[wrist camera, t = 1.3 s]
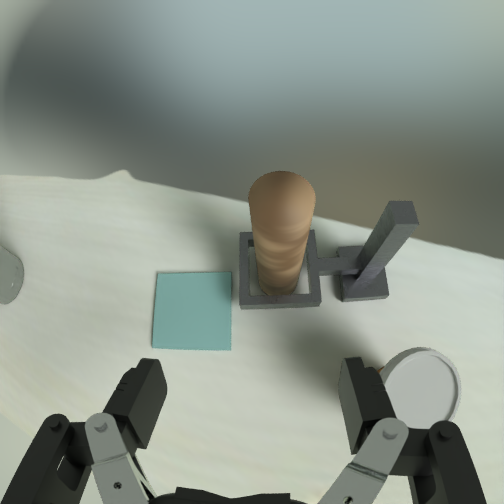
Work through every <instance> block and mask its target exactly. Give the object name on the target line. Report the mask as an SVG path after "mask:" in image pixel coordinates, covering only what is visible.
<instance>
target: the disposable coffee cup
mask: <svg viewBox="0 0 504 504" xmlns="http://www.w3.org/2000/svg"><path fill="white" fill-rule="evenodd" d="M377 372H378V373H379V374H380V376H381V378H382V381H383V385H384V386H385V388H386V392H387V393H388V396H389V398H390V401H391V404H392V406H393V409H394V412H395V414H396V417H397V419H399V420H401V421H403V422H404V423H405V424H406V425H407V427H410V428H417V429H430V428H431V426H432V425H433V424H434V423H436V422H438V421H442V420H447V421H452V420H453V419H454V417H455V414H456V412H457V410H458V407H459V403H460V399H461V381H460V377H459V374H458V371H457V369H456V367H455V366H454V364H453V363H452V362H451V361H450V360H449V359H448V358H447V357H446V356H444V355H443V354H441V353H440V352H438V351H436V350H434V349H431V348H426V347H417V348H411V349H408V350H405V351H403V352H401V353H399V354H398V355H396V356H395V357H394V358H392V359H391V360H390V361H389V362H388V363H387V364H386V365H385V366H384V367H383V368H381V369H379V370H377Z"/></svg>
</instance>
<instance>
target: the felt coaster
mask: <svg viewBox="0 0 504 504" xmlns="http://www.w3.org/2000/svg"><path fill="white" fill-rule="evenodd" d="M231 281H232V273H231V272H209V273H168V274H158V278H157V288H156V299H155V311H154V325H153V341H152V348H161V349H184V350H231Z"/></svg>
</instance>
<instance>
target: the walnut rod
mask: <svg viewBox="0 0 504 504" xmlns="http://www.w3.org/2000/svg"><path fill="white" fill-rule="evenodd" d="M248 199H249V207H250V215H251V223H252V231H253V239H254V247H255V255H256V263H257V270H258V278H259V284H260V287H261V289H262V290H263V291H264V292H265V293H266V294H267V295H269V296H270V295H289V294H291V293H292V292H293V291H294V290H295V288H296V286H297V283H298V279H299V274H300V270H301V266H302V262H303V257H304V253H305V248H306V244H307V239H308V235H309V230H310V226H311V221H312V216H313V211H314V206H315V192H314V190H313V188H312V186H311V185H310V183H309V182H308V181H307V180H306V179H304V178H303V177H301V176H300V175H297V174H295V173H291V172H286V171H275V172H271V173H267V174H265V175H263V176H261V177H260V178H259V179H257V180H256V181H255V182H254V184H253V185H252V187H251V188H250V191H249V197H248Z"/></svg>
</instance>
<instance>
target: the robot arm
mask: <svg viewBox="0 0 504 504" xmlns="http://www.w3.org/2000/svg"><path fill="white" fill-rule="evenodd" d="M23 276H24V269H23V264H22V262H21V260H20V259H18V258H17V257H16V256H14V255H13V254H11V253H10V252H8V251H7V250H6V249H4V248H3V247H2V246H0V303H2V304H8V303H10V302H11V301H12V300H13V299H14V298H15V297H16V296H17V294H18V292H19V290H20V288H21V285H22V282H23ZM166 395H167V383H166V380H165V377H164V373H163V370H162V367H161V364H160V361H159V360H158V359H149V358H142V359H141V360H140V362H139V363H138V365H137V367H136V368H131V369H130V370H128V371H127V372H126V373H125V374H124V375H123V377H122V378H121V380H120V382H119V384H118V385H117V387H116V390H115V391H114V392H113V394H112V396H111V398H110V400H109V401H108V403H107V405H106V407H105V409H104V410H103V412H102V413H97V414H94V415H92V416H91V417H90V418H88V420H87V421H86V422H69V420H68V419H67V417H66V416H64V415H62V414H53V415H51V416H49V417H47V418H46V419H45V421H44V422H43V424H42V425H41V427H40V429H39V431H38V432H37V434H36V436H35V438H34V439H33V441H32V443H31V445H30V447H29V448H28V450H27V452H26V454H25V456H24V457H23V459H22V461H21V463H20V465H19V467H18V469H17V471H16V473H15V475H14V477H13V479H12V481H11V483H10V485H9V487H8V489H7V491H6V493H5V495H4V497H3V500H2V501H1V504H79V503H80V500H81V497H82V494H83V491H84V489H85V486H86V483H87V481H88V478H89V476H90V473H91V470H92V471H93V475H94V478H95V481H96V484H97V487H98V490H99V493H100V495H101V498H102V501H103V503H104V504H306V503H304V502H301V501H297V500H292V499H290V493H279V494H257V495H252V496H246V497H240V498H227V497H223V496H220V495H217V494H213V493H210V492H207V491H204V490H197V489H189V488H182V487H177V488H176V492H175V493H170V494H164V495H161V496H157V495H156V493H155V492H154V490H153V489H152V487H151V485H150V483H149V481H148V479H147V477H146V475H145V473H144V471H143V469H142V467H141V465H140V463H139V460H138V458H137V456H136V454H135V452H136V450H137V448H141V449H146V448H147V446H148V443H149V440H150V438H151V435H152V432H153V430H154V427H155V424H156V422H157V419H158V416H159V414H160V411H161V408H162V406H163V403H164V401H165V398H166ZM339 398H340V402H341V407H342V411H343V416H344V420H345V425H346V430H347V435H348V440H349V445H350V450H351V455H353V454H356V456H355V457H354V459H353V460H352V462H351V463H349V464H348V465H347V466H346V467H345V468H344V470H343V471H342V472H341V474H340V475H339V477H338V478H337V479H336V481H335V482H334V483H333V485H332V486H331V487H330V489H329V490H328V491H327V492H326V494H325V495H324V496H323V497H322V499H321V500H320V501H319V502H318V504H372V503H373V501H374V500H375V498H376V496H377V495H378V493H379V491H380V490H381V488H382V486H383V485H384V483H385V481H386V479H387V477H388V475H398V476H408V480H409V485H410V490H411V495H412V500H413V504H487V503H486V500H485V497H484V494H483V490H482V487H481V484H480V481H479V478H478V475H477V473H476V470H475V467H474V464H473V461H472V459H471V456H470V453H469V451H468V448H467V446H466V443H465V441H464V438H463V436H462V433H461V431H460V429H459V427H458V426H457V425H456V424H455V423H453V422H451V421H447V420H442V421H438V422H436V423H434V424H433V425H432V426H431V428H430V429H417V428H410V427H407V425H406V424H405V423H404V422H403V421H401V420H399V419H397V417H396V414H395V412H394V409H393V406H392V404H391V401H390V398H389V396H388V393H387V392H386V388H385V386H384V385H383V381H382V378H381V376H380V374H379V373H378V372H377V371H376V370H375V369H374V368H373V367H368V368H365V367H364V364H363V361H362V359H361V357H353V358H344V359H343V361H342V367H341V373H340V379H339ZM63 456H64V457H63ZM62 457H63V459H62ZM61 460H62V462H61V464H60V461H61ZM59 464H60V466H59ZM58 466H59V468H58ZM57 468H58V470H57Z"/></svg>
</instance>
